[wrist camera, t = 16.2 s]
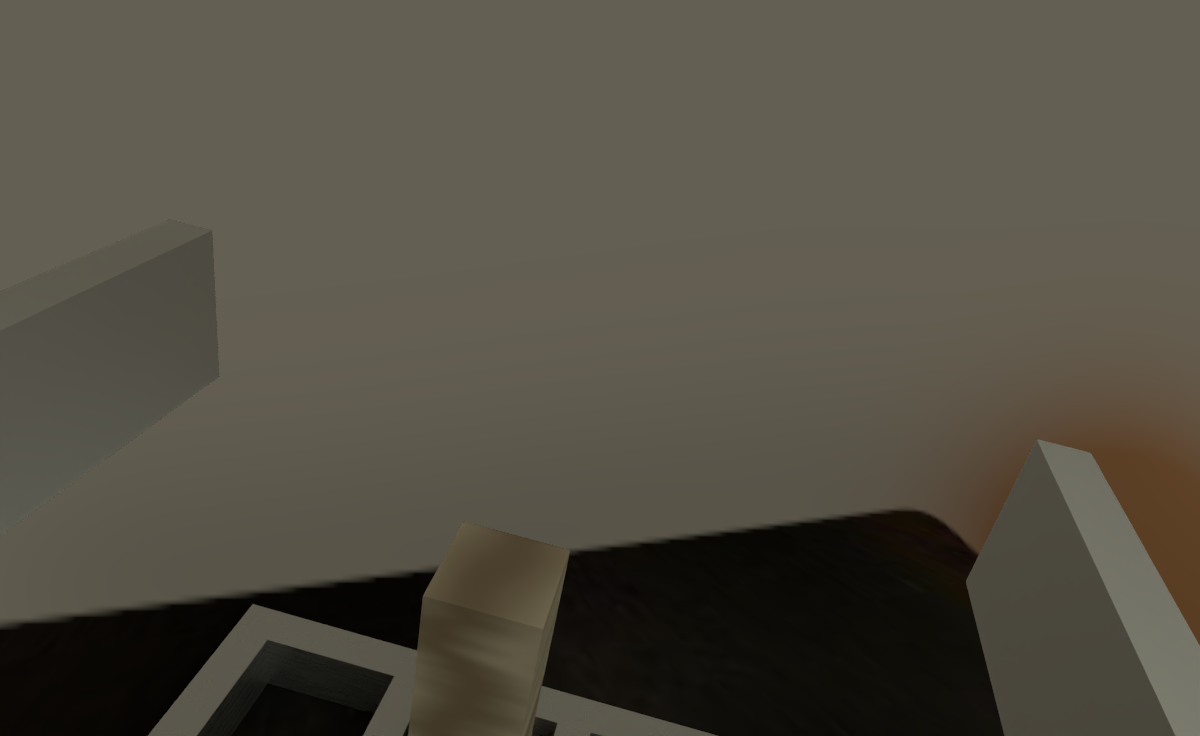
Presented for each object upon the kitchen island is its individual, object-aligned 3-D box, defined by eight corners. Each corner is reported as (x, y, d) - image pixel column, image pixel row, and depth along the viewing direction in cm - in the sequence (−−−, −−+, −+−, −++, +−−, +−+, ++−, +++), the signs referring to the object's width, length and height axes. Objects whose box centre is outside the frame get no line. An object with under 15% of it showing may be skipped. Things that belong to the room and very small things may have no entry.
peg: (522, 777, 40) (570, 549, 33) (495, 866, 36) (543, 629, 30) (433, 751, 40) (463, 521, 34) (397, 837, 36) (423, 595, 30)
